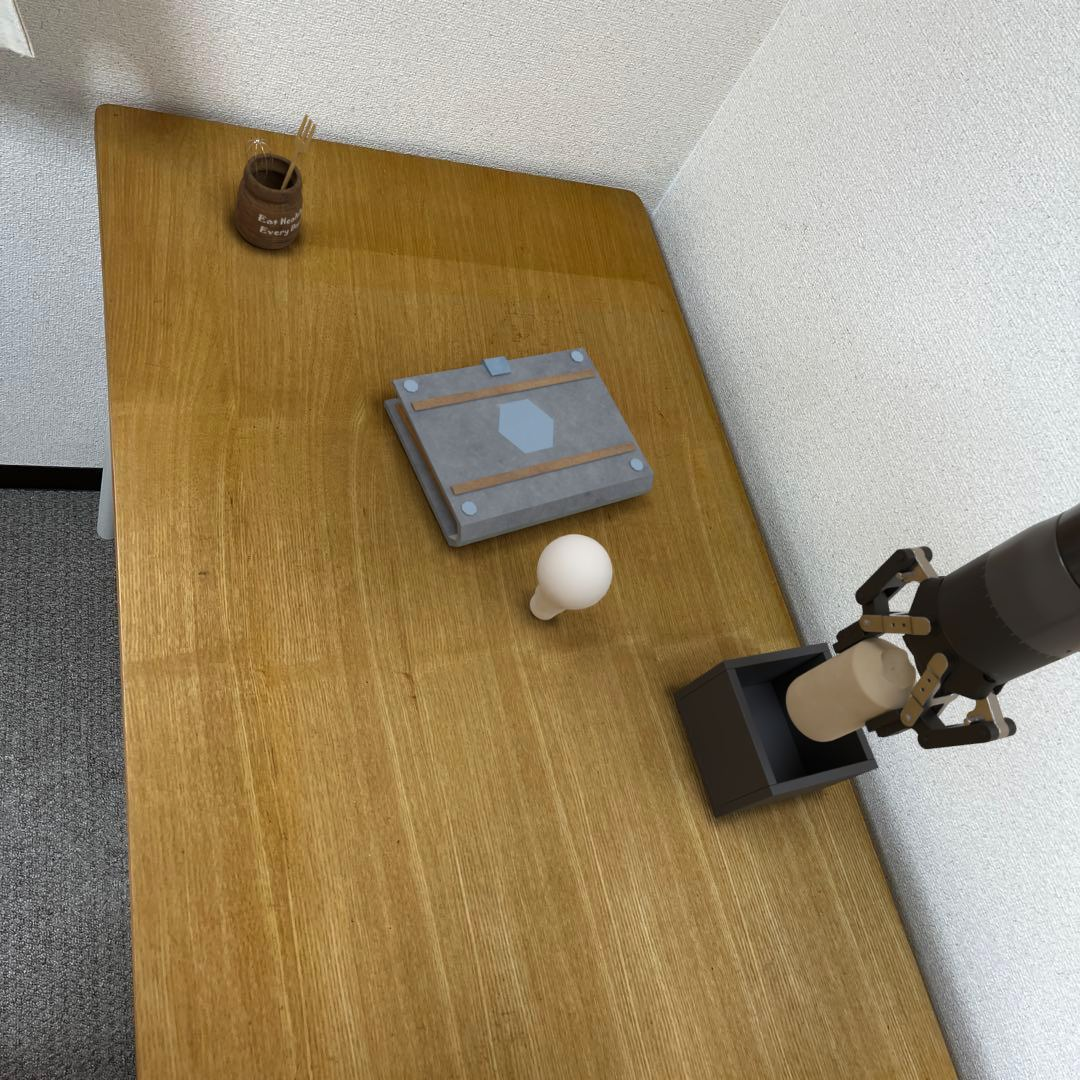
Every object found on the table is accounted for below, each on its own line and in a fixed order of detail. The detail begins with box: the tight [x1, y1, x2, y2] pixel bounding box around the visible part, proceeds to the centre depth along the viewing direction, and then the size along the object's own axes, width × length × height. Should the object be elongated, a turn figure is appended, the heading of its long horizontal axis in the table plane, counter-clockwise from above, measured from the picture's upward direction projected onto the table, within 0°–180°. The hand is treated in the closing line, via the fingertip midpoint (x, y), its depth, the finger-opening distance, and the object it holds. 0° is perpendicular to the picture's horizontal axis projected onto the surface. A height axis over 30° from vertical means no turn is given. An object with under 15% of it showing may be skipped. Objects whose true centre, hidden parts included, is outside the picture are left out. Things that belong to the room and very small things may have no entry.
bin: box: [673, 641, 880, 819], centre depth 77 cm, size 11×11×9 cm
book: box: [383, 347, 655, 548], centre depth 84 cm, size 21×16×5 cm
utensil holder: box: [235, 113, 317, 250], centre depth 83 cm, size 6×6×12 cm
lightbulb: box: [529, 533, 613, 621], centre depth 75 cm, size 6×6×11 cm
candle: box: [786, 637, 918, 742], centre depth 68 cm, size 6×6×10 cm
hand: (858, 686), depth 67 cm, fingers closed on candle, 5 cm apart
